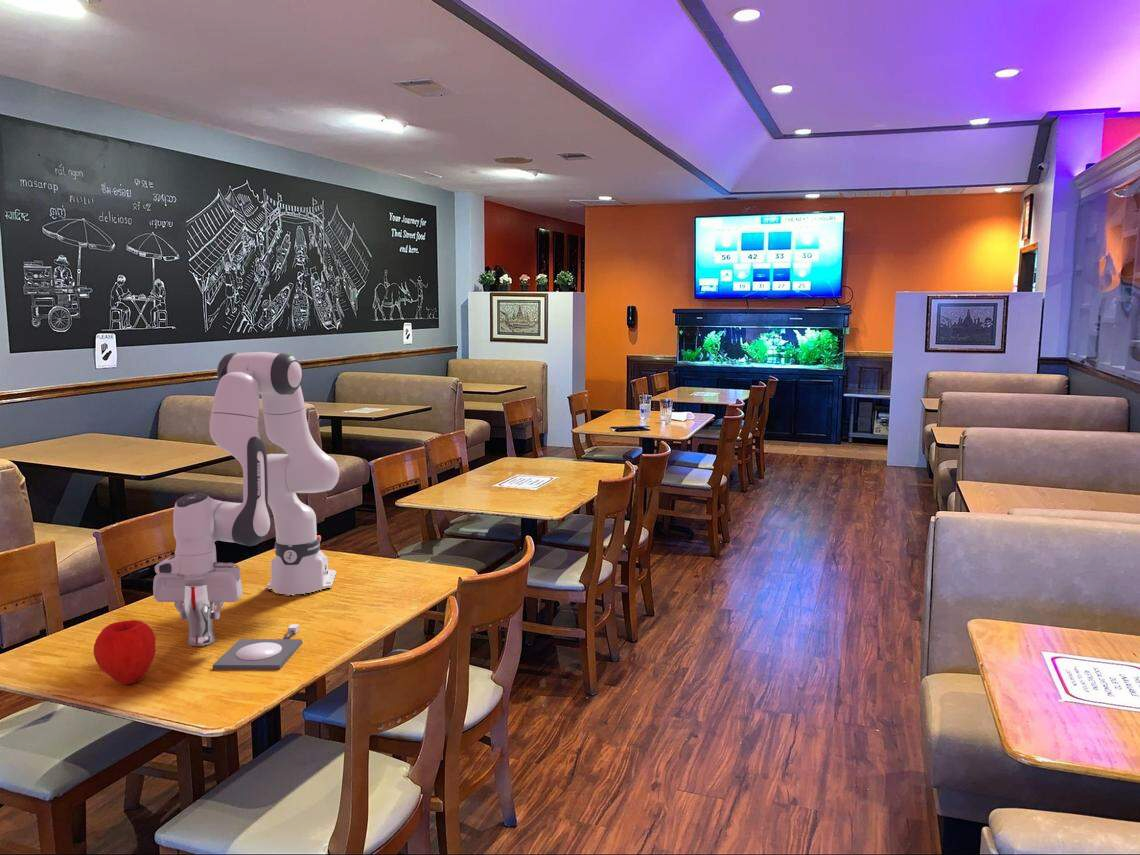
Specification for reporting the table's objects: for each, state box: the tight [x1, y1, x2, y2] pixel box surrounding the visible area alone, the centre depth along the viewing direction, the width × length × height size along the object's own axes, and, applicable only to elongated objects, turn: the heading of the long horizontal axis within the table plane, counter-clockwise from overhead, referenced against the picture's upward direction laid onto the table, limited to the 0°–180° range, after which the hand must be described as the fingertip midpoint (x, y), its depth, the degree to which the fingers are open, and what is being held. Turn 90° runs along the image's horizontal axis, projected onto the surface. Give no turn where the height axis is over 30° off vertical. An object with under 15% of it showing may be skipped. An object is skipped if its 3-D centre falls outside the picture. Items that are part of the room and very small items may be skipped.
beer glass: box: [183, 584, 216, 647], centre depth 203 cm, size 7×7×15 cm
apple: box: [93, 619, 157, 685], centre depth 182 cm, size 12×12×13 cm
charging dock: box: [212, 623, 303, 670], centre depth 200 cm, size 23×15×2 cm, turn 179°
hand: (200, 618), depth 204 cm, fingers closed on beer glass, 6 cm apart
